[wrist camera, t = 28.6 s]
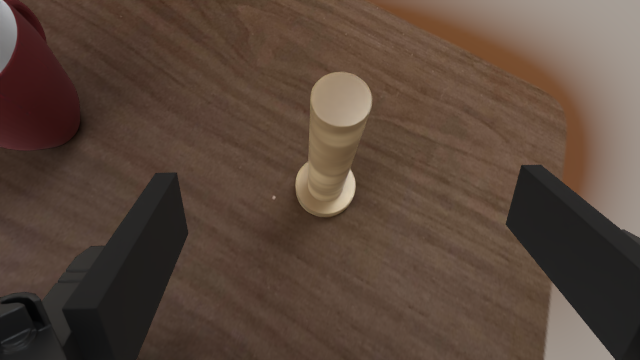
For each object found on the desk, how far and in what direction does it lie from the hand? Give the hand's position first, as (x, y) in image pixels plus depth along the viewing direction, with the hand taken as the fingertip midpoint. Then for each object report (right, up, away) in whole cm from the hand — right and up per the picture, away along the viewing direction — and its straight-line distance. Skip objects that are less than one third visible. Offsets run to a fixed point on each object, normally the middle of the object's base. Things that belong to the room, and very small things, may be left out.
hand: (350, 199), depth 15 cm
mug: (-22, +6, +16) cm, 28 cm away
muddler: (-1, 0, +14) cm, 15 cm away
